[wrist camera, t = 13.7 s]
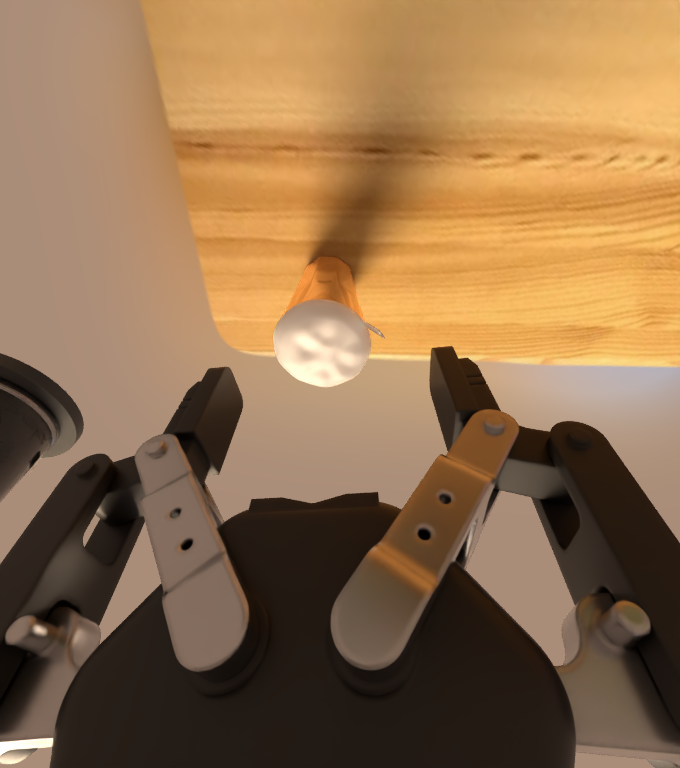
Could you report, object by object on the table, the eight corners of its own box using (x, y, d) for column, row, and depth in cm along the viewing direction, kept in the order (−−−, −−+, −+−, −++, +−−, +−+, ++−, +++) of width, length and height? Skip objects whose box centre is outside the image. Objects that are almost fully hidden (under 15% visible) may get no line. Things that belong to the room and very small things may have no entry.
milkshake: (386, 282, 22) (410, 373, 14) (321, 323, 24) (310, 424, 16) (347, 220, 20) (350, 288, 12) (279, 272, 22) (242, 360, 14)
